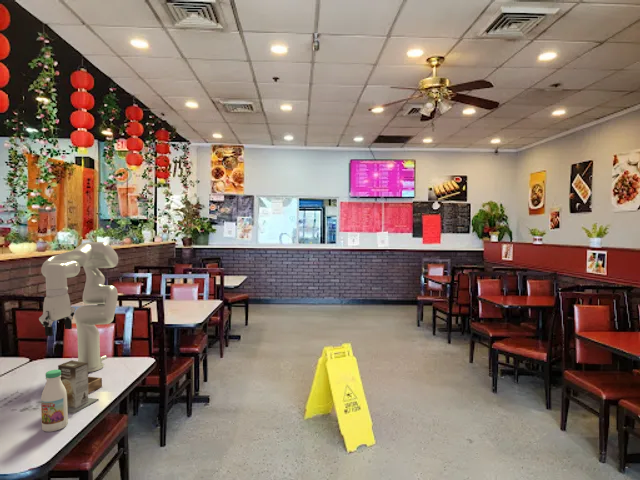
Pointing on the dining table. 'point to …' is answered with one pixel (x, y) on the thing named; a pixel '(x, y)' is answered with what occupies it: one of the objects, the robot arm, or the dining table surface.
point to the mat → (74, 410)
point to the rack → (94, 384)
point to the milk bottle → (54, 403)
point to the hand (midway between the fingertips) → (59, 332)
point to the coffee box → (75, 382)
